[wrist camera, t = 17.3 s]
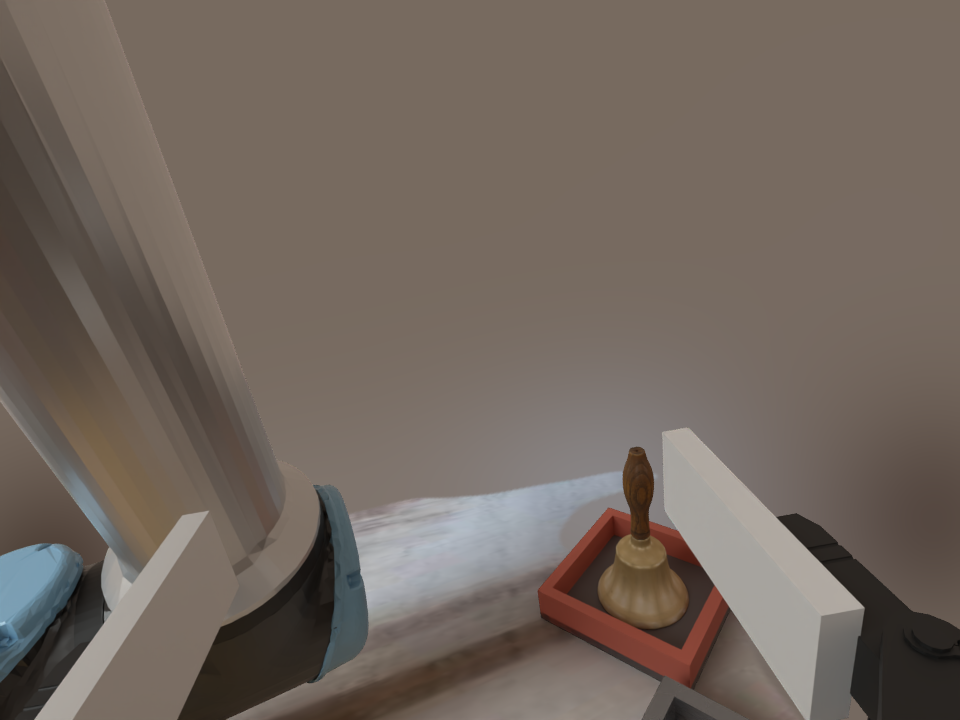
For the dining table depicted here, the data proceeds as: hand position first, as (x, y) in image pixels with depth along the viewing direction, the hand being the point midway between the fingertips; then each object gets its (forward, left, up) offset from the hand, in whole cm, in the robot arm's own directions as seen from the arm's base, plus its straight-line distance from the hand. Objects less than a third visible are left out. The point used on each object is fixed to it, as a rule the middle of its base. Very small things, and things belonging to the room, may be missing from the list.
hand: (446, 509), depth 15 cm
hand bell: (-8, +28, -31) cm, 42 cm away
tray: (-8, +28, -32) cm, 43 cm away
